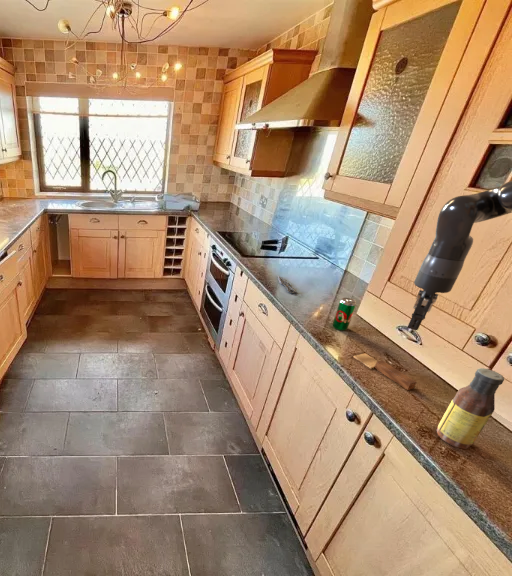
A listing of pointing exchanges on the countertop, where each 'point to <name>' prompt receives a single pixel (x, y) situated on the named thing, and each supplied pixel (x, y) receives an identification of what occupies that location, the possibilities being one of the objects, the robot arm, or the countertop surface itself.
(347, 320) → the soda can
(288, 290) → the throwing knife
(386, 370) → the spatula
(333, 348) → the countertop surface
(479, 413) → the sauce bottle
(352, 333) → the countertop surface
